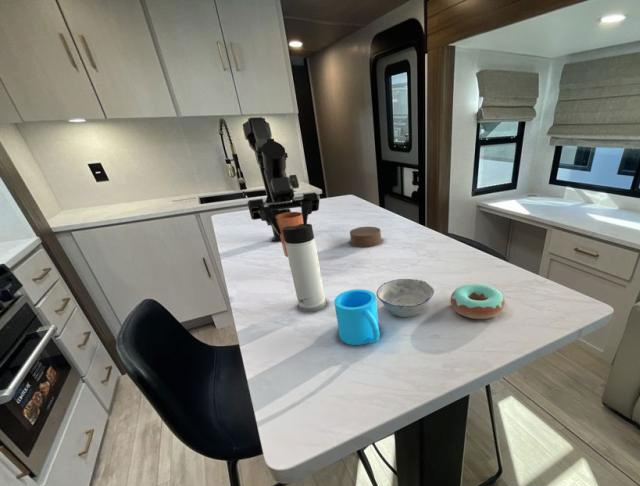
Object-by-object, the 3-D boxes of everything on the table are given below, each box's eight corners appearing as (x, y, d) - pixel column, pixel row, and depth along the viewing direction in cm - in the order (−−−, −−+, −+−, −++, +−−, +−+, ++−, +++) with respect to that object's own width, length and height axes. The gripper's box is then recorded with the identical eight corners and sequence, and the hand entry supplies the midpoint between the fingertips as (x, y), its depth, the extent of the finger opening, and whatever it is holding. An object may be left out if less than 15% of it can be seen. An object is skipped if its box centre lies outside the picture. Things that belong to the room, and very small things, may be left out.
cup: (284, 251, 94) (275, 213, 88) (307, 247, 96) (300, 210, 90) (285, 259, 88) (275, 219, 83) (310, 255, 90) (302, 216, 85)
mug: (333, 331, 67) (327, 297, 63) (366, 318, 71) (363, 285, 67) (360, 360, 59) (355, 324, 55) (396, 344, 63) (395, 308, 59)
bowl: (391, 291, 82) (390, 274, 79) (439, 299, 77) (440, 281, 75) (368, 317, 71) (366, 298, 69) (423, 328, 67) (423, 308, 65)
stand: (351, 238, 120) (350, 227, 118) (380, 236, 121) (379, 225, 119) (350, 248, 111) (349, 237, 109) (382, 245, 112) (381, 234, 110)
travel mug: (302, 315, 73) (284, 230, 63) (296, 303, 78) (278, 222, 68) (329, 308, 76) (315, 225, 66) (321, 296, 81) (307, 218, 71)
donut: (447, 296, 79) (448, 281, 77) (496, 295, 78) (498, 280, 76) (453, 323, 68) (454, 307, 66) (509, 322, 68) (512, 306, 66)
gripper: (238, 167, 80) (252, 221, 77) (312, 161, 87) (328, 210, 84) (245, 194, 90) (258, 243, 87) (310, 187, 97) (325, 232, 94)
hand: (292, 232), depth 88 cm, fingers closed on cup, 7 cm apart
